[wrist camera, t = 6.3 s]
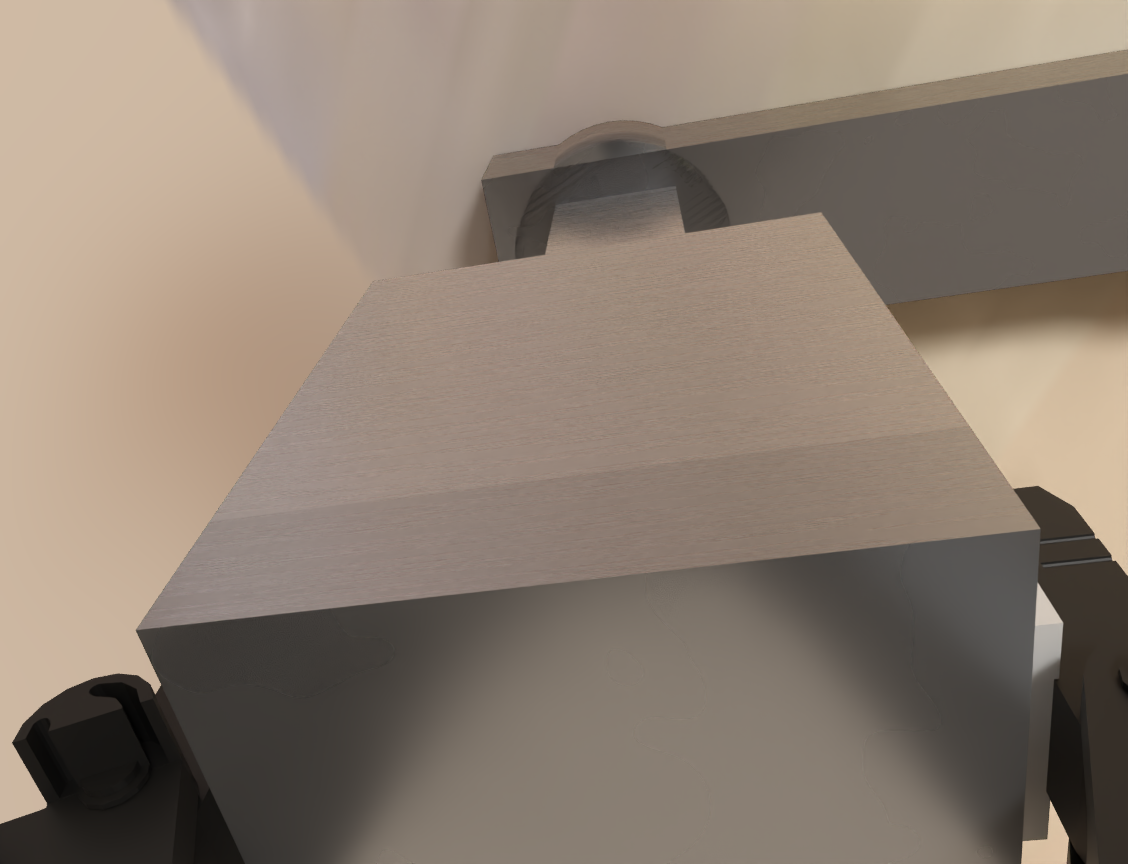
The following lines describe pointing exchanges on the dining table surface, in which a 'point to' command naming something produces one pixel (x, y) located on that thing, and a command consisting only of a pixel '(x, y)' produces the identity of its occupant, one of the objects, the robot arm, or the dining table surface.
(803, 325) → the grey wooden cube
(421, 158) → the dining table surface
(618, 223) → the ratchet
